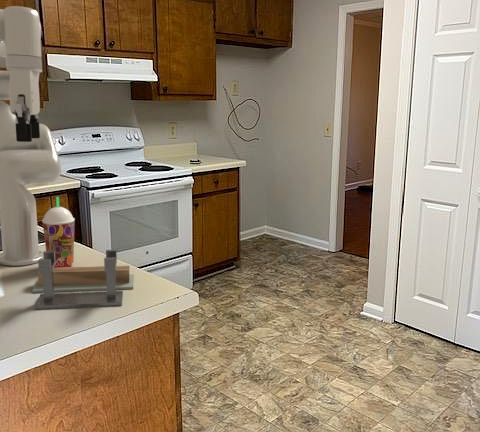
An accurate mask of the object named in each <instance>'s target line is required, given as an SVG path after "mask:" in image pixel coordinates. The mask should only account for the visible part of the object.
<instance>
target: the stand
mask: <svg viewBox="0 0 480 432" xmlns="http://www.w3.org/2000/svg"><path fill="white" fill-rule="evenodd" d="M42 252H43V257H44V259H39V260H38V262H37V263H38V271H39V275H42V278H43V292H42V293H41V294H40V295H39V296H38V299H37V300H36V303H35V305H34V310H49V308H50V310H52V308H53V309H70V308H71V309H73V308H93V307H94V308H95V307H96V308H97V307H98V308H99V307H118V306H123V296H124V291H123V290H116V266H117V263H118V261H117V260H118V259H117V258H118V255H117V254H118V253H117V252H118V251H117V249H106V250H105V257H104V259H103V263H104V265H103V266H104V269H105V273H106V281H107V290H106V291H94V292H93V291H81V292H65V293H64V292H54V279H53V268H54V266H55V264H56V263H55V251H46V250H44V251H42Z"/></svg>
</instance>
